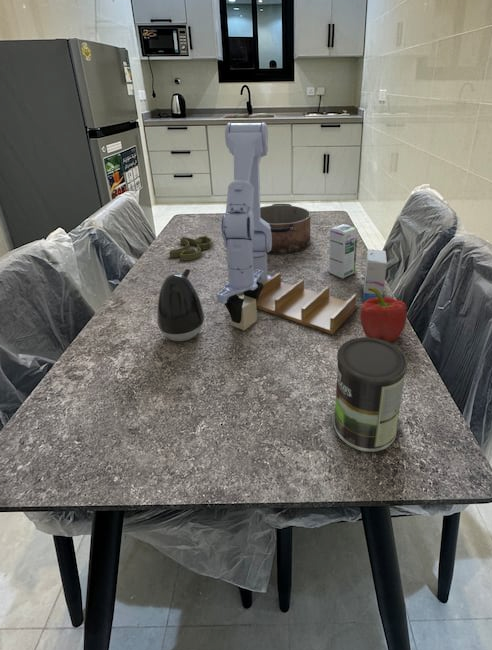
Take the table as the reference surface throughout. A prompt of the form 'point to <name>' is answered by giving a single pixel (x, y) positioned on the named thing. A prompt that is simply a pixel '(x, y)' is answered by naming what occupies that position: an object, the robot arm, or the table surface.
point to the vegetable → (383, 317)
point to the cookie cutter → (189, 253)
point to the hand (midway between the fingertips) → (243, 316)
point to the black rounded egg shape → (179, 308)
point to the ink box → (375, 273)
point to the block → (247, 313)
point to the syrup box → (342, 250)
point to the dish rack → (305, 304)
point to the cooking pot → (287, 227)
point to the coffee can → (368, 393)
